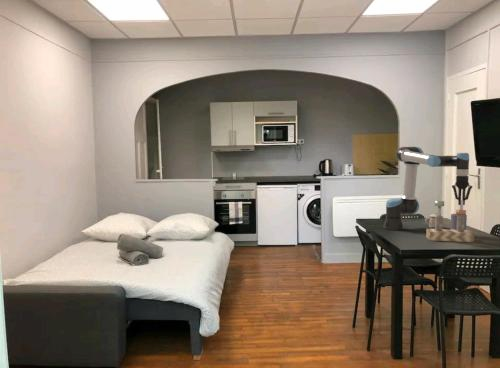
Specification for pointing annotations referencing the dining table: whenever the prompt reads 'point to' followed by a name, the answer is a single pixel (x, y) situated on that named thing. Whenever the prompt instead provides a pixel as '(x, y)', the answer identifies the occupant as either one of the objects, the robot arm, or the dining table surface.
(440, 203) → the sage plunger
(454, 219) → the container
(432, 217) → the teacup with lid
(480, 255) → the dining table surface
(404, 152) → the robot arm
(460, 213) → the terracotta plunger
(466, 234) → the press stand
